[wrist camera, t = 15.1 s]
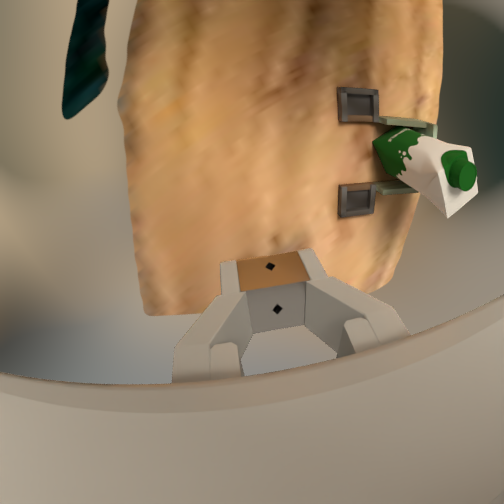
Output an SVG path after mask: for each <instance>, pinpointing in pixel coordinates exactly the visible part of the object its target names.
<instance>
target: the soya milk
mask: <svg viewBox="0 0 504 504" xmlns="http://www.w3.org/2000/svg"><path fill="white" fill-rule="evenodd" d="M372 142H373V144H374V147H375V149H376V151H377V153H378V155H379V158H380V160H381V162H382V165H383V167H384V169H385V172H386V173H387V174H389V175H391V176H393V177H396V178H398V179H400V180H401V181H403V182H404V183H406V184H407V185H409V186H411V187H412V188H414V189H415V190H417V191H418V192H420V193H421V194H423V195H424V196H425V197H427V198H428V199H429V200H430V201H431V202H432V203H433V204H434V205H435V206H436V207H437V208H438V209H439V210H440V211H441V212H442V213H443V214H444V215H445V216H446V217H447V218H449V217H450V216H451V215H452V214H454V213H455V212H456V211H457V210H459V209H460V208H461V207H462V206H463V205H464V204H466V203H467V202H468V201H469V200H470V199H472V197H474V196H475V195H476V194H477V193H478V188H477V181H476V180H477V170H476V166H475V165H474V160H473V155H472V151H471V148H470V147H465V146H460V145H454V144H448V143H445V142H443V141H440V140H437V139H435V138H432V137H430V136H427V135H424V134H421V133H419V132H416V131H414V130H411V129H409V128H407V127H404V126H399V125H397V126H396V127H394V128H393V129H391V130H389V131H388V132H386V133H385V134H383V135H381V136H380V137H378V138H377V139H375V140H374V141H372Z"/></svg>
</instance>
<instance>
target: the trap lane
mask: <svg viewBox="0 0 504 504" xmlns="http://www.w3.org/2000/svg"><path fill="white" fill-rule="evenodd" d="M337 98H338V120H339V121H342V122H348V121H366V122H379V123H383V124H386V125H399V126H412V127H413V130H414V131H416V132H419V133H421V134H424V135H427V136H430V137H432V138H435V139H437V125H435V124H432V123H428V122H425V121H422V120H418V119H411V118H401V117H389V116H379V95H378V90H374V89H363V88H348V87H337ZM376 191H378V192H379V193H380V194H382V195H392V194H404V193H418V191H417V190H415V189H414V188H412V187H411V186H409V185H407V184H406V183H404V182H403V181H401V180H399V181H382V182H367V183H354V184H342V185H339V190H338V215H339V216H340V217H349V216H357V215H365V214H373V213H374V205H375V194H376Z"/></svg>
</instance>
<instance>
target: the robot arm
mask: <svg viewBox="0 0 504 504" xmlns="http://www.w3.org/2000/svg"><path fill="white" fill-rule="evenodd" d="M236 261H237V263H236ZM220 278H221V295H218V296H216V297H215V298H214V300H213V301H212V302H211V303H210V305H209V306H208V307H207V308H206V309H205V311H204V312H203V313H202V314H201V316H200V317H199V318H198V319H197V320H196V322H195V323H194V324H193V326H192V327H191V328H190V329H189V330H188V331H187V333H186V334H185V335H184V336H183V338H182V339H181V340H180V341H179V342H178V344H177V345H176V346H175V347H174V358H173V372H172V383H170V384H139V385H137V384H135V385H134V384H132V385H127V384H92V383H76V382H65V381H55V380H46V379H38V378H32V377H25V376H19V375H14V374H8V373H3V372H0V504H504V294H503V295H502V296H500V297H498V298H496V299H494V300H492V301H490V302H488V303H486V304H484V305H482V306H480V307H478V308H476V309H474V310H472V311H470V312H467V313H465V314H463V315H461V316H459V317H456V318H454V319H452V320H449V321H447V322H445V323H442V324H440V325H437V326H435V327H432V328H430V329H427V330H425V331H422V332H419V333H417V334H414V335H410V333H409V332H408V330H407V329H406V327H405V325H404V324H403V322H402V320H401V319H400V317H399V316H398V314H397V313H396V311H395V310H394V308H393V307H391V306H389V305H387V304H385V303H383V302H382V301H380V300H378V299H376V298H374V297H372V296H370V295H368V294H366V293H364V292H362V291H360V290H358V289H356V288H354V287H352V286H350V285H348V284H346V283H344V282H342V281H341V280H339V279H337V278H335V277H328V276H327V274H326V272H325V270H324V268H323V267H322V265H321V263H320V261H319V259H318V258H317V256H316V254H315V252H314V250H313V249H312V248H308V249H303V250H297V251H293V252H288V253H282V254H276V255H270V256H260V257H253V258H245V259H238V260H231V261H224V262H221V263H220ZM300 325H305V327H307V328H308V329H309V330H310V331H311V332H313V333H314V334H315V335H316V336H317V337H319V338H320V339H321V340H322V341H323V342H325V343H326V344H327V345H328V346H329V347H331V348H332V349H333V350H334V351H336V352H337V357H336V359H332V360H328V361H324V362H319V363H315V364H310V365H307V366H301V367H296V368H291V369H286V370H282V371H275V372H270V373H264V374H257V375H251V376H244V372H243V368H242V364H241V358H242V356H243V354H244V352H245V350H246V348H247V346H248V344H249V342H250V340H251V338H252V336H253V334H255V333H260V332H265V331H270V330H275V329H281V328H288V327H294V326H300Z"/></svg>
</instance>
